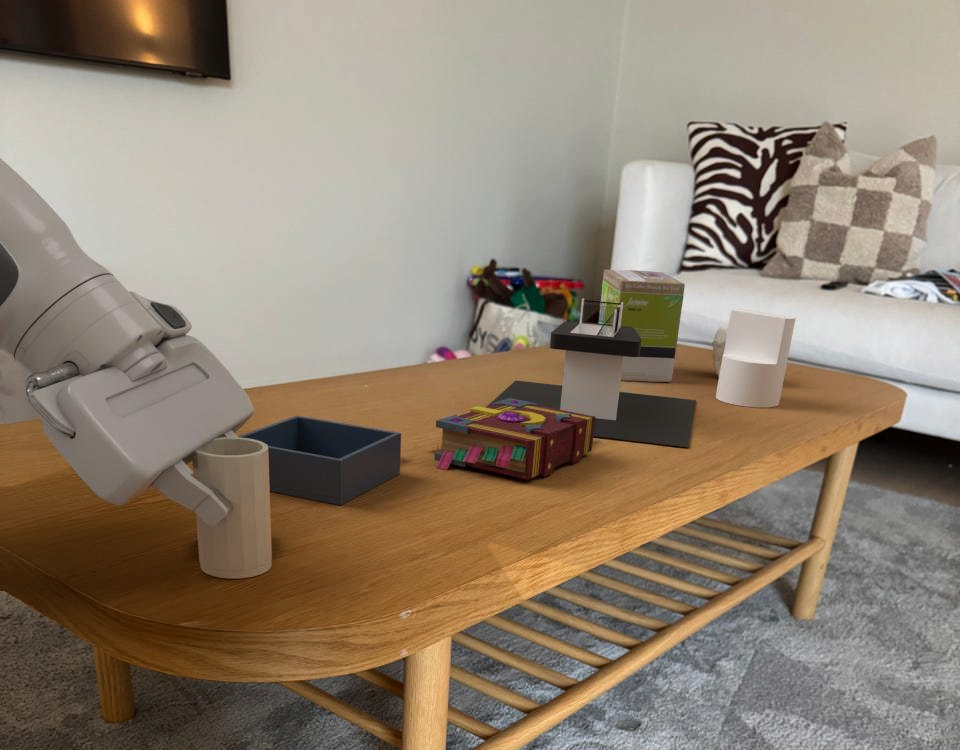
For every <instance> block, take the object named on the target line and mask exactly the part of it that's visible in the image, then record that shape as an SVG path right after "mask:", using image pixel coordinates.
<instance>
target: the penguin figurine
mask: <svg viewBox="0 0 960 750" xmlns="http://www.w3.org/2000/svg"><path fill="white" fill-rule="evenodd" d="M728 325H729V320H727V321H726V322H724V323H723V324H721V325H720V326H719V327H718V329H717V330H716V332H715V335H714V339H713V341H712V343H711V346H712V360H713V368H714V371H715V373H716V375H717V376H718V377H719V374H720V368H721V362H722V357H723V354H724V349H725V343H726V337H727V331H728Z"/></svg>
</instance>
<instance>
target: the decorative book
mask: <svg viewBox="0 0 960 750" xmlns="http://www.w3.org/2000/svg"><path fill="white" fill-rule="evenodd" d="M594 425H595V416H590V415H585V414H579V413H574V412H569V411H564V410H559V409H554V408H548V407H543V406H538V404H537V403H532V402H527V401H522V400H517V399H512V398H508V399H505V400H502V401H498V402H495V403H492V406H489V407H487V406H485V407H484V406H479V405H478V406H477V405H476V406H474V407H470V408H469V412H465V413H463V414H460V415H458V414H457V413H456V414H453V415H450V416H447V417H443V418H439V419H436V420H435V428H437V429H441V430H442V434H441V435H442V436H441V437H442V438H441V450H440V451H438V452H434V461H436V462H437V464H436V466H435V468H437V469H441V470H443V471H444V470H445V471H447V470H448V469H449V467H450V465H455V466H459V467H462V468H466V466H467V467H471V468H476V469H480V470H483V471H488V472H492V473H496V474H501V475H506V476H510V477H514V478H517V479H522V480H527V481H528V480H530V479H533V478H535V477H538V476H539V477H543V478H545V477H547V476H549V475H551V474H553V473H554V472H555V468H557V467H559V466H561V465H563V464H566V463H570V464H575V463H578V462H579V461H581V460H582V459H583V456H584V455H586V454H588V453H590V452H592V451H593V450H592V449H593V442H594V436H593V434H594Z"/></svg>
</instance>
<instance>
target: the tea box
mask: <svg viewBox="0 0 960 750" xmlns="http://www.w3.org/2000/svg"><path fill="white" fill-rule="evenodd" d="M685 285H686V283H684V282H682V281H680V280H678V279H676V278H674V277H671V276H670V275H668V274H666V273H664V272H661V271H650V270H637V269H636V270H633V269H604V270H603V275H602V284H601V294H600V295H601V297H600V301H601V302H612V303H621V302H623V309H622V318H621V326H628V327H633V328H634V329H635V330H636V332H637V333H638V335H639V336H640V338H641V339H642V342H641V349H640V355H639V357H626V356H624V359H623V367H622V375H621V381H626V382H628V381H629V382H651V383H671V382H672V379H673V375H674V368H675V362H676V361H675V359H676V352H677V347H678V337H679V331H680V324H681V316H682V311H683V310H682V309H683V303H684V295H685ZM619 305H621V304H619ZM619 305H618V304H617V305H615V304H614V307H616V306H617V308H618V307H619ZM605 306H606V307H605V310H604V311H603V308H604V303H602V306H601V303H599V308H600V307H602V310H600V309H599V311H600V314H599V315H598V317H599V316H601V319H599V318H598V320H599V321H601V320H602V317H603V316H604V319H603V320H602V321H605V322H606V321H607V320H608V318H609V317H611V316H610V313H612V314H613V313H614V312H615V310H616V309H617V308H614V307H613V304H611V307H612V308H611V307H610V304H609V303H608V307H607V303H605ZM606 308H608V311H606ZM610 308H611V311H610V312H609V309H610ZM612 309H614V312H612ZM602 311H603V314H602V315H601V312H602ZM604 312H606V315H604ZM608 312H609V315H608V316H607V313H608ZM606 316H607V319H606V320H605V317H606ZM612 317H613V316H612ZM610 319H611V318H610ZM613 319H614V318H613ZM599 321H598V324H602V322H600V323H599ZM605 322H603V324H605ZM608 322H609V323H610V321H609V320H608ZM612 322H613V320H612ZM606 324H608V323H606ZM610 325H611V323H610Z"/></svg>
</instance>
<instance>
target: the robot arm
mask: <svg viewBox="0 0 960 750" xmlns="http://www.w3.org/2000/svg"><path fill="white" fill-rule="evenodd" d="M192 328H193V325H192V323H191V321H190V320H189V318H187V316H186V315H185V314H184V313H183V312H182V311H181V310H180V309H179V308H177V307H176V306H174V305H172V304H168V303H163V302H159V301H157V300H156V301H155V300H152V299H149V298H147V297H145V296H143V295H140V294H139V293H137V292H135V291H131V290H130V291H129V290H128V289H127V288H126V287H125V286H124V285H123V284H122V282H121V281H119V279H118V278H117V277H116V276H115V275H114V274H113V273H112V272H111V270H109V269H108V268H106V267H105V266H104V265H102V264H100V263H99V262H97V261H96V260H94V259H93V258H92V257H90V256H89V255H88V254H87V253H86V252H85V251H84V250H83V249H82V247H81V246H80V245H79V243H78V242H77V240H76V238H75V237H74V235H73V233H72V231H71V229H70V228H69V226H68V224H67V223H66V222H65V221H64V219H62V217H61V216H60V215H59V214H58V213H57V212H56V211H55V210H54V209H53V207H51V205H50V204H49V203H48V202H47V201H46V200H45V199H44V198H43V197H42V196H41V195H40V194H39V193H38V192H37V191H36V190H35V189H34V188H33V187H32V186H31V185H30V184H29V182H27V180H25V179H24V178H23V177H22V176H21V175H20V174H19V173H18V172H17V171H16V170H15V169H13V167H11V166H10V165H9V163H7V162H6V161H5V160H3V159H2V157H0V350H1V351H3V352H6V353H7V354H8V355H9V356H10V357H12V359H13V360H14V361H15V362H16V363H17V364H18V365H19V366H20V367H21V368H22V369H23V370H24V371H25V372H26V373H27V374H28V375H29V376H27V377H26V380H25V385H26V387H25V393H26V397H27V398H26V402H27V404H28V406H29V407H30V408H31V409H32V411H33V412H34V413H35V414H36V415H37V416H38V417H39V418H40V419H39V420H40V425H41V428H42V431H43V432H44V434H45V435H46V437H47V438H48V440H49V441H50V443H51V444H52V445H53V447H54V448H55V449H56V450H57V452H58V453H59V454H60V455H61V457H63V459H64V460H65V461H66V463H67V464H68V465H69V466H70V467H71V469H73V472H75V473H76V474H77V476H79V478H80V479H81V480H82V481H83V482H84V484H85V485H87V486H88V488H89V489H90V490H91V491H92V492H93V493H94V494H95V495H96V496H97V497H98V498H99V499H101V500H102V501H105V502H107V503H109V504H112V505H114V506H116V507H121V506H124V505H125V504H127V503H129V502H131V501H132V500H133V499H135V498H137V497H138V496H140V495H141V494H143V493H144V492H146V491H147V490H149V489H151V488H153V487H156V489H158V490H159V492H160V493H162V495H163V496H164V497H165V498H166V499H169V500H170V501H172V502H174V503H175V504H178V505H180V506H182V507H184V508H186V509H188V510H190V511H193V512H194V513H195V515H196V514H197V515H198V516H199V517H200V518H201V519H202V520H203V521H204V522H205V523H206V524H207V525H208V526H210V527H215V526H216V525H217V524H219V523H220V522H221V521H222V520H223V519H224V518H225V517H227V516H228V515H229V514H230V513H231V512H232V511H233V505H232V503H231V502H230V501H229V500H227V499H226V498H225V496H224V495H223V494H222V493H221V492H220V491H219V490H218V489H217V490H215V491H214V492H213V491H212V490H210V489H209V488H208V487H206V486H205V485H203V484H202V483H201V482H199V481H198V480H196V479H195V478H194V476H192V475H193V469H192V468H190V467H189V466H188V465H189V464H190V463H193V462H192V453H193V452H195V451H196V450H197V449H199V448H201V447H203V446H204V445H206V444H208V443H209V442H211V441H212V440H213V439H215V438H219V437H238V436H239V435H237V431H239V430H240V429H241V428H242V427H243V426H244V425H245V424H246V423H247V422H248V421H249V420H250V419H251V418H252V417H253V416H254V414H255V409H254V406H253V404H252V402H251V399H250V397H249V395H248V394H247V392H246V391H245V389H244V388H243V387H242V386H241V384H240V383H239V382H238V381H237V380H236V379H235V377H234V376H233V375H232V373H231V372H230V371H229V370H228V369H227V368H226V367H225V365H224V364H223V363H222V361H220V359H218V357H217V356H216V355H215V354H214V353H213V352H212V351H211V350H210V348H208V347H207V345H205V344H204V343H203V342H202V341H200V340H199V339H198V338H197V337H194V336H191V335H187V334H188V333H189V332H190V331H191V330H192Z"/></svg>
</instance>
